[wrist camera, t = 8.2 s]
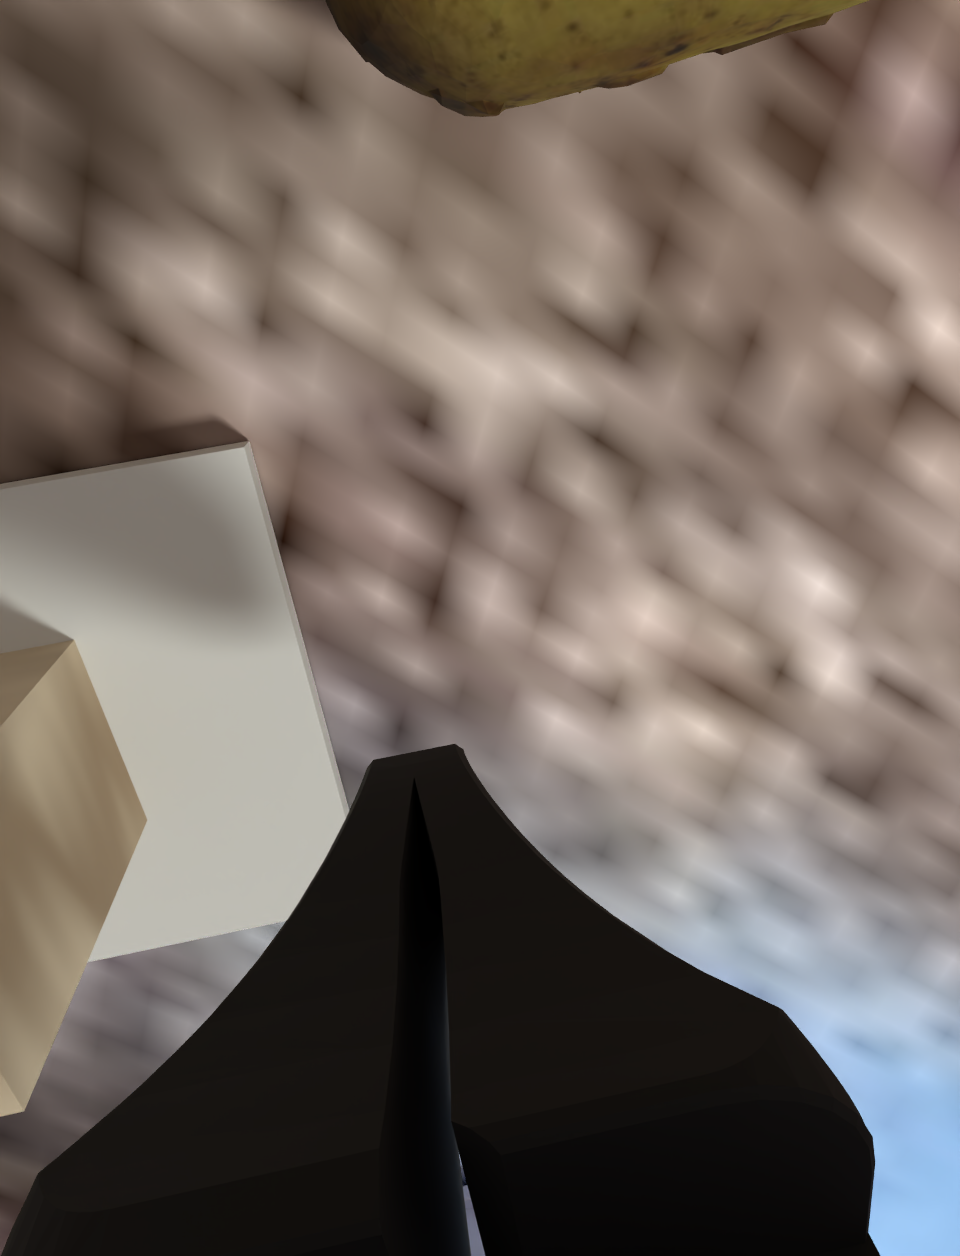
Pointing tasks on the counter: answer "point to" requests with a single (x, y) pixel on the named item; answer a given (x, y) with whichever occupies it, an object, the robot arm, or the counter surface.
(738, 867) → the counter surface
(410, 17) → the potato
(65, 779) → the green-faced wooden block
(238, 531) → the mat
